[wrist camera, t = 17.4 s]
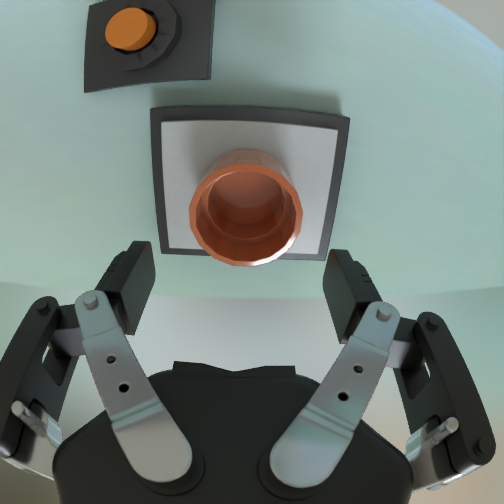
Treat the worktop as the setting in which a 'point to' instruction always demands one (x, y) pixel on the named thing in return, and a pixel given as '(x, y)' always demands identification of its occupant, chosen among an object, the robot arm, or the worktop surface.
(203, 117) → the scale
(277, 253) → the copper cup
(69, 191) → the worktop surface
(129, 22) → the tare button
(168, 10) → the block
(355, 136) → the worktop surface
